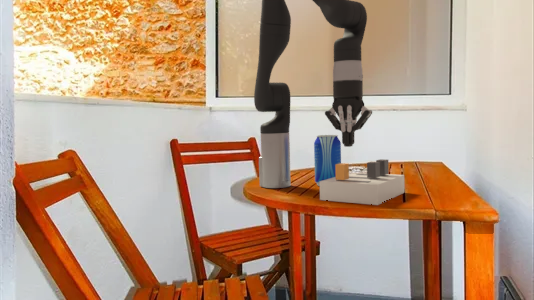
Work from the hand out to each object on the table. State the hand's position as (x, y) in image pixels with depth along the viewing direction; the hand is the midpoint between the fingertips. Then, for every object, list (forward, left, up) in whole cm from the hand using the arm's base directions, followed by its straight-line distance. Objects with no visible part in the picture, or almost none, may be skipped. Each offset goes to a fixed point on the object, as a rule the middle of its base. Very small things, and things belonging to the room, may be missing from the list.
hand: (348, 146), depth 119 cm
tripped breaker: (-2, 0, -9) cm, 9 cm away
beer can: (-17, +20, -14) cm, 30 cm away
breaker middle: (+4, +6, -9) cm, 12 cm away
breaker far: (+4, +13, -9) cm, 16 cm away
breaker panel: (+1, +6, -14) cm, 15 cm away
